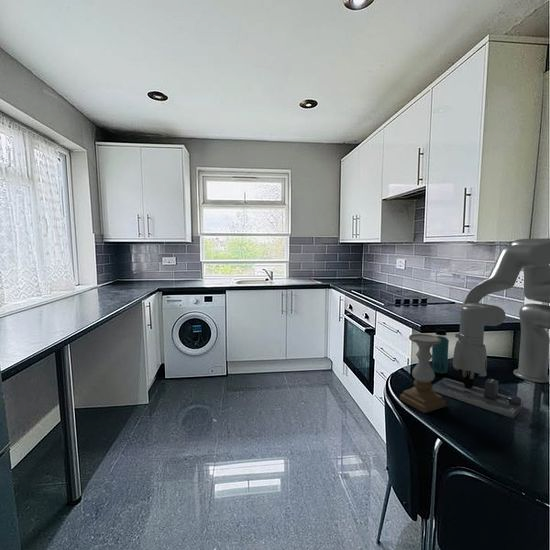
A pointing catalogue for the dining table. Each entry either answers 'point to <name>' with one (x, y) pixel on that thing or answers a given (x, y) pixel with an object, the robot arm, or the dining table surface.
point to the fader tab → (491, 389)
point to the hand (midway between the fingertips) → (468, 387)
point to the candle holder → (423, 377)
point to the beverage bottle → (440, 353)
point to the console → (479, 397)
